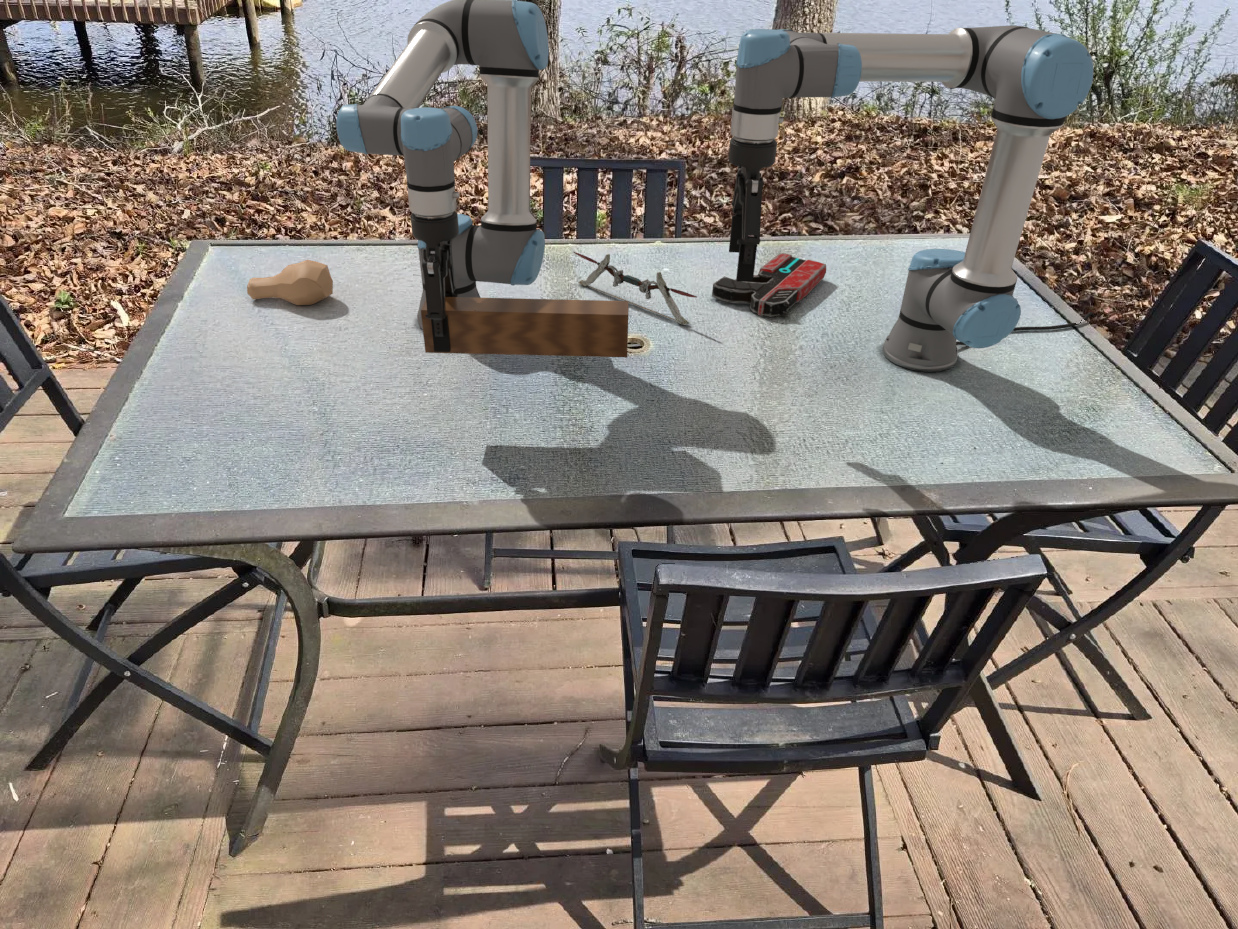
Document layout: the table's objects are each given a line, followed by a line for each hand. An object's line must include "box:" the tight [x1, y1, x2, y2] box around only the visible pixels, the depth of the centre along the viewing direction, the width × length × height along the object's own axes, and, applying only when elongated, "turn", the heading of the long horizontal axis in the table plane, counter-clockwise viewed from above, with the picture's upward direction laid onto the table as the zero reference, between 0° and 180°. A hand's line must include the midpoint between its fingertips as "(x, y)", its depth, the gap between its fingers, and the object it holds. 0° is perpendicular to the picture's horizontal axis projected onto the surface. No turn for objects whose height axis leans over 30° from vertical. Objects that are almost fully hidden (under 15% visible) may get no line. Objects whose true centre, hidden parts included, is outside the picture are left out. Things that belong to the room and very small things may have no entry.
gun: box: [711, 252, 827, 318], centre depth 215 cm, size 4×31×19 cm
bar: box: [421, 297, 629, 358], centre depth 152 cm, size 35×6×8 cm, turn 90°
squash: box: [246, 259, 334, 306], centre depth 203 cm, size 11×20×9 cm, turn 90°
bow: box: [573, 251, 698, 326], centre depth 205 cm, size 39×2×10 cm, turn 47°
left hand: (445, 342), depth 154 cm, fingers closed on bar, 6 cm apart
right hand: (740, 265), depth 151 cm, fingers open, 13 cm apart
